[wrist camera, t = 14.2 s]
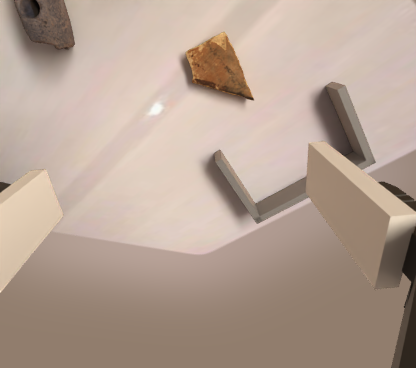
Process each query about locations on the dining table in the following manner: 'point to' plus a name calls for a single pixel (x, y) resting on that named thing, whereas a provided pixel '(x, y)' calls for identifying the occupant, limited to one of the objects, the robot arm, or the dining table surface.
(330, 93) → the box
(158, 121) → the dining table surface
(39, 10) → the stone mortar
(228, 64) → the shard
